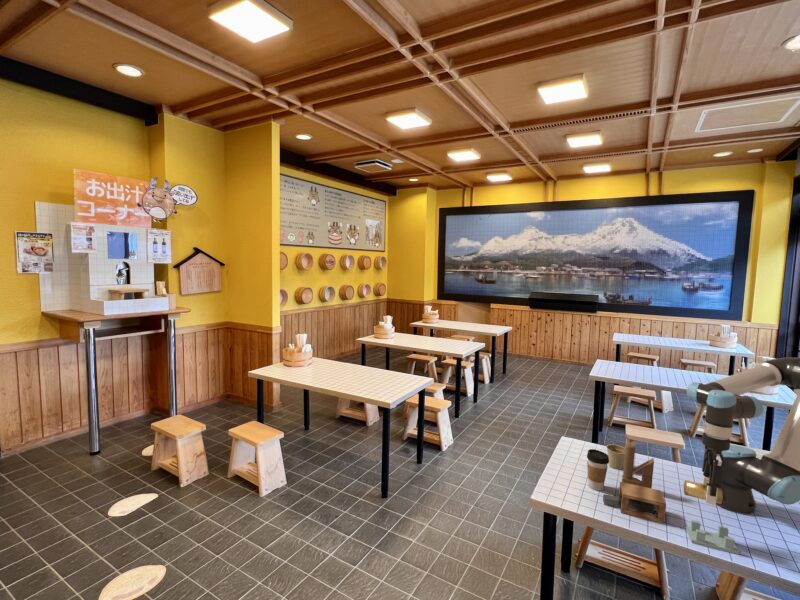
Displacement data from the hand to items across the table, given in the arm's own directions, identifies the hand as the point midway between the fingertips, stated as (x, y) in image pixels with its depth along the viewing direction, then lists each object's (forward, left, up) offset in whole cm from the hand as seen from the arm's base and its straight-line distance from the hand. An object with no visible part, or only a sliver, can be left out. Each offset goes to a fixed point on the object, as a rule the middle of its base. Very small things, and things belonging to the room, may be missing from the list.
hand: (708, 499), depth 140 cm
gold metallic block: (+2, 0, +2) cm, 3 cm away
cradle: (-1, +3, -13) cm, 14 cm away
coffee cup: (+34, -17, -14) cm, 40 cm away
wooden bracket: (+18, -24, -14) cm, 33 cm away
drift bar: (+23, -7, -14) cm, 28 cm away
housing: (+19, -6, -13) cm, 24 cm away
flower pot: (+24, -41, -14) cm, 50 cm away
